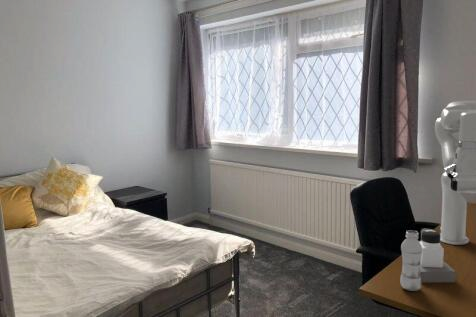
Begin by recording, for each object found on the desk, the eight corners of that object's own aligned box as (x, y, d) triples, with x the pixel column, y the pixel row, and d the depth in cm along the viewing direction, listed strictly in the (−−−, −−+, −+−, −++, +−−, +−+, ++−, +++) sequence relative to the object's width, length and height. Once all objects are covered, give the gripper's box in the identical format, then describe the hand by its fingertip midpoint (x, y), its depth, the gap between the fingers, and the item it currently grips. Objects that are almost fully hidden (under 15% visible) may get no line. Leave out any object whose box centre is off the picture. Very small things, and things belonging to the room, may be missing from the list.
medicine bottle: (443, 268, 137) (445, 235, 135) (421, 267, 138) (423, 235, 136) (437, 260, 144) (438, 229, 142) (416, 259, 145) (417, 228, 143)
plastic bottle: (412, 295, 127) (414, 236, 124) (395, 287, 133) (397, 231, 130) (425, 290, 130) (428, 233, 127) (408, 282, 136) (410, 227, 133)
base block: (405, 266, 148) (405, 256, 148) (437, 266, 148) (438, 256, 147) (419, 282, 135) (420, 271, 135) (455, 282, 135) (455, 271, 134)
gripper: (450, 147, 141) (448, 193, 144) (500, 146, 139) (497, 192, 142) (441, 144, 148) (439, 187, 151) (489, 143, 147) (485, 186, 150)
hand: (467, 189), depth 147 cm, fingers open, 9 cm apart
